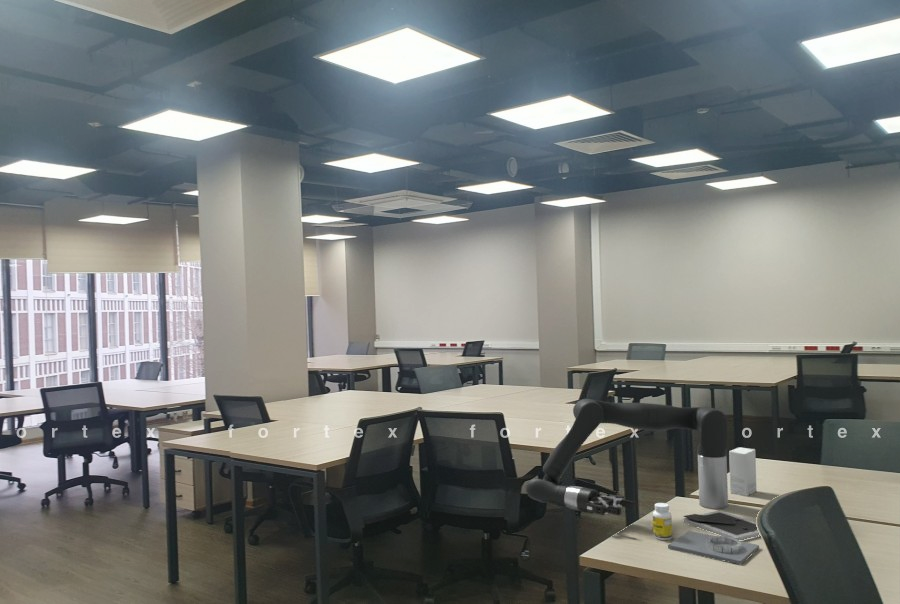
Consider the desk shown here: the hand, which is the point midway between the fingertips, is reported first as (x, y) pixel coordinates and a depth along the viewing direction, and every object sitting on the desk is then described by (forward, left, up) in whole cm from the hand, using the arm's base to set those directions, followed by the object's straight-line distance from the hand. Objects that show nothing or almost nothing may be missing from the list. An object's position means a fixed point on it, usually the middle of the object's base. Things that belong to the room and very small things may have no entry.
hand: (627, 508), depth 205 cm
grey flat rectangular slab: (0, +26, -7) cm, 27 cm away
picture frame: (-20, +23, -7) cm, 32 cm away
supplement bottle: (0, +11, -7) cm, 13 cm away
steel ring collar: (0, +29, -7) cm, 30 cm away
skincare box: (-61, +14, -7) cm, 63 cm away
